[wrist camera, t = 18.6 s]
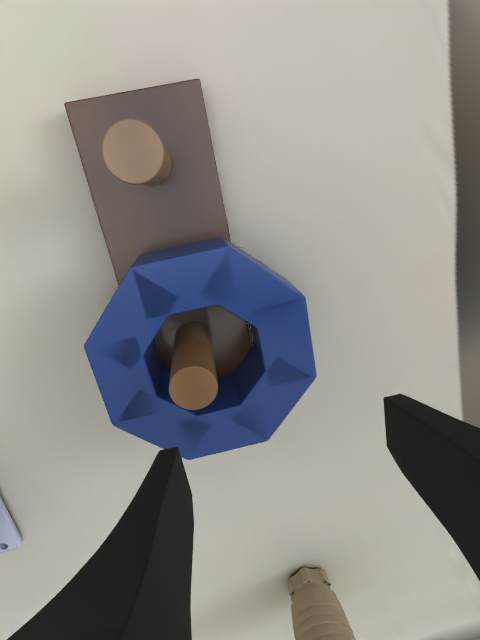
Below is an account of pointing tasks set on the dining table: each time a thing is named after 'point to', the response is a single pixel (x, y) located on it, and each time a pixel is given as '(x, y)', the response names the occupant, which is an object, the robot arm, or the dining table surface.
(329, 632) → the handle
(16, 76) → the dining table surface
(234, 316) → the rack
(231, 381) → the ring
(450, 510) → the robot arm
